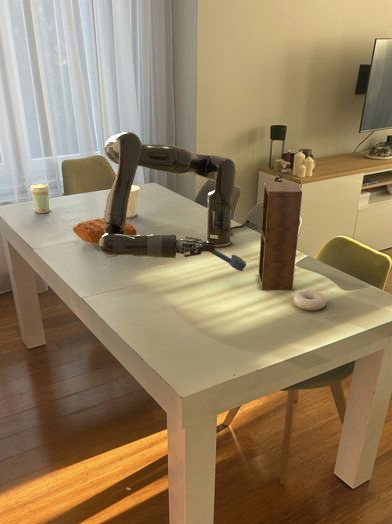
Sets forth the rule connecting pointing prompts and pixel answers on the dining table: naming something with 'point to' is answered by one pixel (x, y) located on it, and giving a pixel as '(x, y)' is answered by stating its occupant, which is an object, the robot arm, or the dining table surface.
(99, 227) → the cuneiform tablet
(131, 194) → the cup
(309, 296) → the donut
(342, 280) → the dining table surface
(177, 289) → the dining table surface
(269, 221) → the shelf
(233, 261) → the blue elongated piece
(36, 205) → the coffee cup
